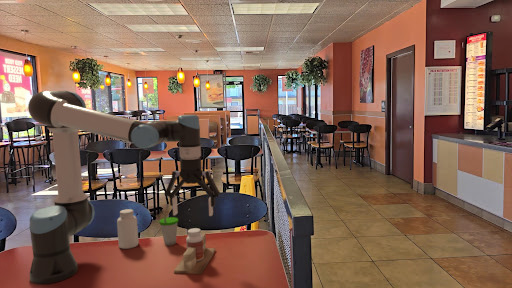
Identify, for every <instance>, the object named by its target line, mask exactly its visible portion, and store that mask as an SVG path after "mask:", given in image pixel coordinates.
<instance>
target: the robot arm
mask: <svg viewBox="0 0 512 288" xmlns="http://www.w3.org/2000/svg"><path fill="white" fill-rule="evenodd" d="M27 107H28V108H27V110H28V114H29V115H30V117H31V118H32V119H33V120H34V121H35V122H36V123H39V124H42V125H45V126H46V128H47V130H49V131H50V132H51V133H52V144H53V153H54V154H53V155H54V165H55V175H56V176H55V177H56V186H57V196H56V197H55V198H54V200H53V202H54V205H51V206H50V205H49V206H46V207H43V208H39V209H38V210H36V211H34V212H33V213H32V214H31V215H30V217H29V227H28V228H29V231H30V233H29V234H30V240H31V241H30V242H31V247H32V255H33V257H32V261H31V265H30V269H29V270H30V271H29V281H30V282H31V283H33V284H36V285H49V284H54V283H59V282H61V281H64V280H67V279H69V278H71V277H72V276H74V275H75V274H76V273H77V272H78V262H77V261H76V259H75V257H74V254H73V252H72V250H71V244H70V238H71V237H73V236H74V235H75V234H77V233H78V232H80V231H83V230H84V229H86V228H87V227H88V226H89V225H90V224H91V223H92V222H93V220H94V218H95V207H94V204H93V203H91V201H90V200H89V199H88V195H87V194H86V193H84V192H83V191H84V190H83V189H84V187H83V178H82V165H81V155H80V153H81V152H80V142H79V131H83V132H85V133H90V134H91V133H92V134H95V135H97V136H98V135H100V136H101V137H102V136H103V137H106V138H111V139H114V140H119V141H123V142H126V143H127V142H128V143H132V144H133V145H134V146H135V147H137V148H139V149H149V148H152V147H154V146H157V145H158V144H162V143H169V142H170V143H172V142H175V143H176V142H178V146H179V158H180V159H179V165H180V171H178V170H177V169H175V170H173V171H172V172H171V178H170V181H169V183H168V185H167V187H166V190H165V192H164V196H165V197H169V204H170V206H171V207H172V215H173V216H176V215H177V214H178V198H177V195H176V194H177V193H178V192H179V191H180V189H181V188H182V187H183V186H184V184H185V183H186V184H193V185H195V184H196V183H197V185H198V186H200V187H201V189H202V190H203V191H204V192H205V193H206V194H207V195H208V197H209V198H208V216H209V217H212V216H213V214H214V207H215V206H216V198H217V197H219V196H220V194H221V193H220V190H219V189H218V187H217V185H216V183H215V181H214V179H213V178H212V173H211V170H209V169H208V170H205V171H203V170H202V158H201V157H202V151H201V150H202V149H201V125H200V118H199V116H198V115H196V114H180V115H179V116H177V120H151V121H148V122H143V121H139V120H135V119H131V118H127V117H123V116H119V115H116V114H115V115H114V114H109V113H107V112H103V111H98V110H95V109H90V108H87V105H86V103H85V100H84V99H83V98H82V96H80V95H79V94H78V93H76V92H74V91H68V90H51V91H50V90H45V91H43V90H42V91H39V92H37V93H35V94H34V95H33V96H32V97H31V98H30V99H29V102H28V106H27ZM179 176H180V178H181V180H180V181H179V182H178V184H177V185H176V186H175V188H174V189H173V187H174V185H175V182H176V180H177V179H178V177H179ZM202 176H203V177H204V178H206V180H207V183H208V184H207V183H206V182H205V181H204V179H203V178H202ZM208 185H209V186H208ZM172 189H173V190H172Z"/></svg>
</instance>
